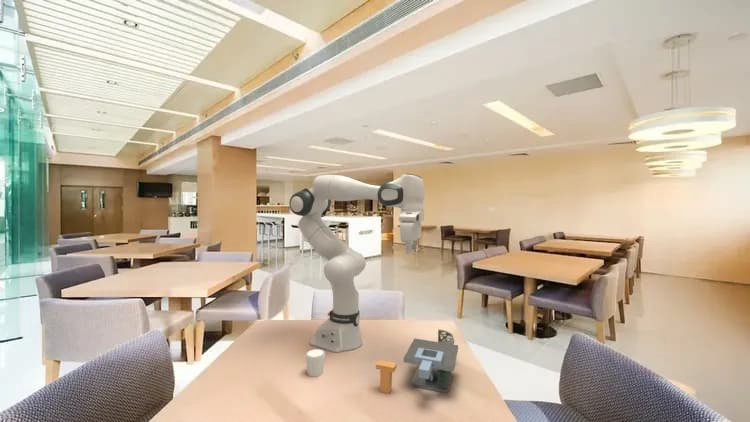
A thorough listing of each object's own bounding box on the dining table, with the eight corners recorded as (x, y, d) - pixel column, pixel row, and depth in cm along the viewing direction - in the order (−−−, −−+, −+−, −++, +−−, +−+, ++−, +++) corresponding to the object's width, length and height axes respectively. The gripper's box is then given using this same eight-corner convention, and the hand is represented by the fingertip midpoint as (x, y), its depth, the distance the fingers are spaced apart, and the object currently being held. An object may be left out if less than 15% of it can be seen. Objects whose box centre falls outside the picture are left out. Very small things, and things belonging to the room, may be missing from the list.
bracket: (409, 375, 93) (409, 365, 93) (418, 356, 105) (418, 347, 105) (437, 381, 90) (437, 370, 90) (443, 360, 102) (443, 351, 102)
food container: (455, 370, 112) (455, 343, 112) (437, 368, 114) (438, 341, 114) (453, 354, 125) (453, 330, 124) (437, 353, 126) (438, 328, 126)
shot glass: (328, 369, 112) (328, 350, 112) (319, 379, 106) (319, 358, 106) (311, 365, 115) (312, 347, 115) (301, 375, 108) (301, 355, 108)
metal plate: (403, 387, 101) (403, 357, 101) (414, 364, 116) (414, 338, 116) (453, 398, 96) (453, 366, 96) (457, 372, 111) (458, 345, 111)
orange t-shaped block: (375, 390, 100) (376, 364, 100) (378, 385, 103) (379, 360, 102) (393, 394, 98) (393, 367, 98) (396, 389, 101) (396, 363, 100)
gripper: (410, 215, 129) (409, 248, 129) (397, 216, 110) (396, 255, 110) (425, 215, 127) (424, 249, 127) (414, 216, 108) (414, 256, 108)
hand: (411, 251), depth 118 cm, fingers open, 8 cm apart
